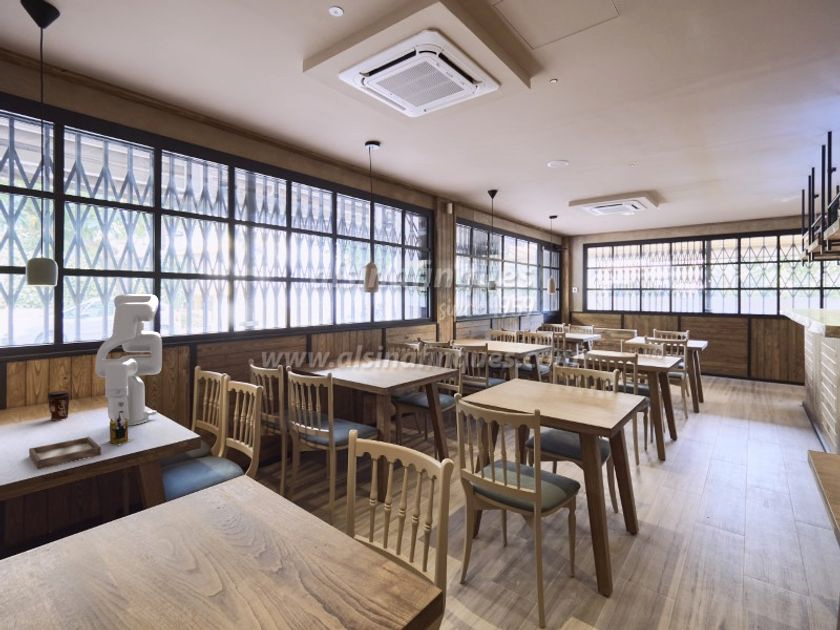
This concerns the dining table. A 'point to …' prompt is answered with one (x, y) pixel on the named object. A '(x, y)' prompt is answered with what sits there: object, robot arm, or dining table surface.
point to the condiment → (112, 435)
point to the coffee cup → (59, 404)
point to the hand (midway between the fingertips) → (117, 435)
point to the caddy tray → (64, 452)
